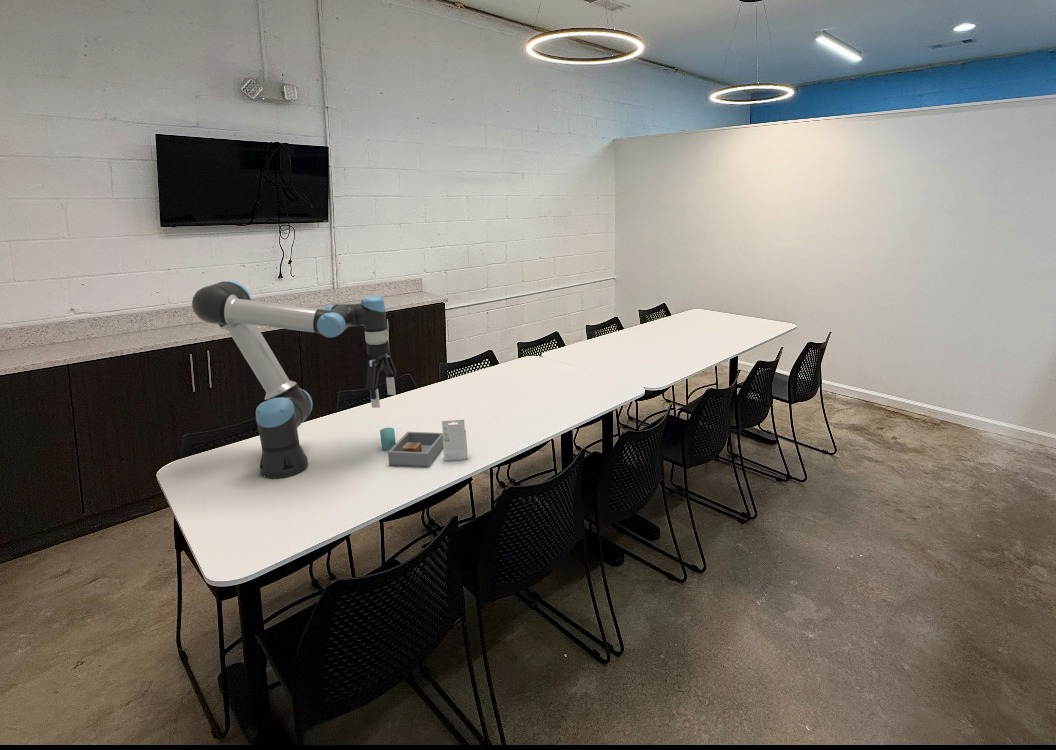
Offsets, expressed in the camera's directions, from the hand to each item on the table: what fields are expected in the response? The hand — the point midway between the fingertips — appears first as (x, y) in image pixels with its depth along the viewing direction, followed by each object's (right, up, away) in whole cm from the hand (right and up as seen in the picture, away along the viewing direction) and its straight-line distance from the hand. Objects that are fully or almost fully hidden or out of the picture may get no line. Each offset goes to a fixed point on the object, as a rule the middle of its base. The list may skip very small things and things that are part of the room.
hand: (384, 400), depth 206 cm
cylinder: (0, -17, +5) cm, 18 cm away
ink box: (+26, -20, -5) cm, 33 cm away
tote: (+12, -19, -2) cm, 23 cm away
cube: (+11, -20, -6) cm, 23 cm away
